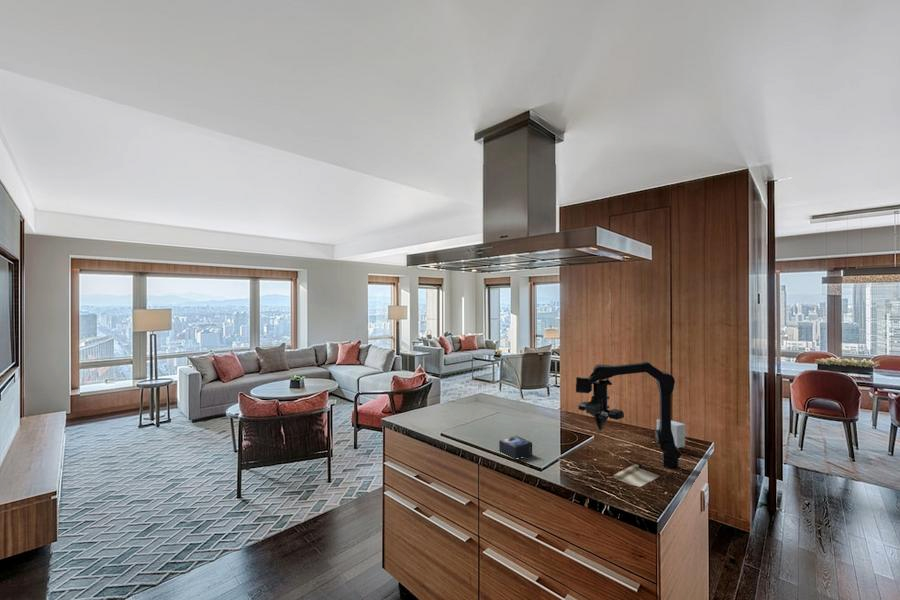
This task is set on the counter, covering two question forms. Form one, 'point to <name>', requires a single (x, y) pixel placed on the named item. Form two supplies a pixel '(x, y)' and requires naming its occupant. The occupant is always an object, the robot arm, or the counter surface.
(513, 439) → the small box
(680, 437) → the skincare box
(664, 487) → the counter surface
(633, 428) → the counter surface
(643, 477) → the board
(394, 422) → the counter surface
